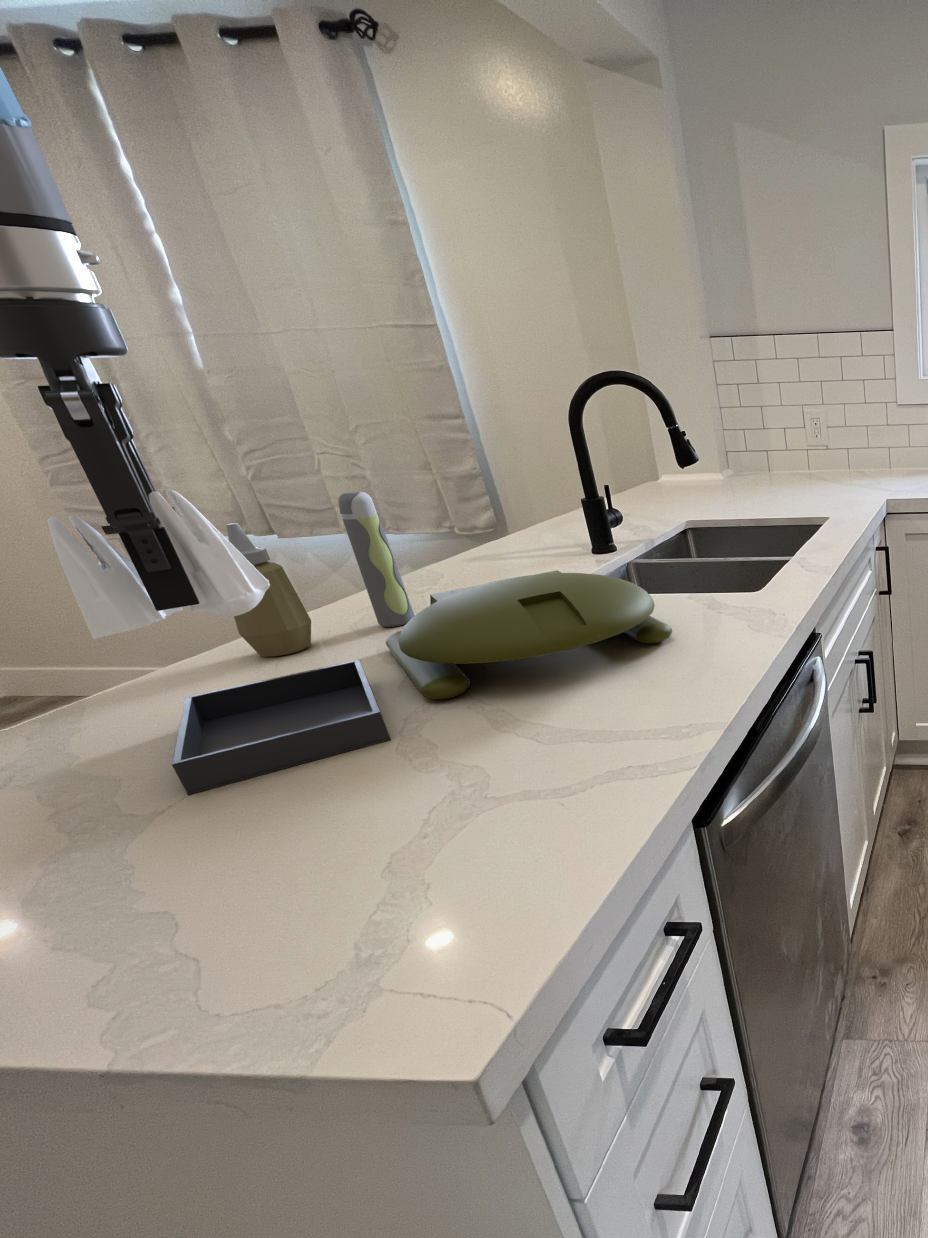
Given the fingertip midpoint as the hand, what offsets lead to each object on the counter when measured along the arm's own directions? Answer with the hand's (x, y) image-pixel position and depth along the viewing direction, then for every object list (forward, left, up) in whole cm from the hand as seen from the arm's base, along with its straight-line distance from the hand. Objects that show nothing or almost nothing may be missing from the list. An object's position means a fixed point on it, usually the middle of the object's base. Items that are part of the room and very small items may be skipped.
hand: (179, 599), depth 66 cm
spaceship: (-19, +30, -18) cm, 40 cm away
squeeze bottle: (-46, +3, -18) cm, 50 cm away
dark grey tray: (-11, +2, -18) cm, 21 cm away
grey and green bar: (-49, +17, -18) cm, 55 cm away
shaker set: (0, 0, -2) cm, 2 cm away
